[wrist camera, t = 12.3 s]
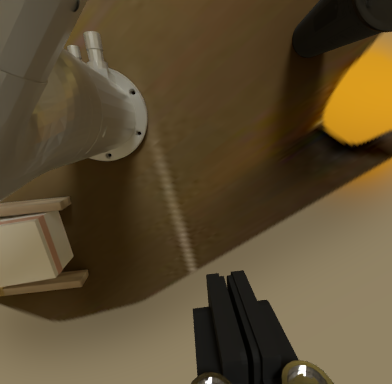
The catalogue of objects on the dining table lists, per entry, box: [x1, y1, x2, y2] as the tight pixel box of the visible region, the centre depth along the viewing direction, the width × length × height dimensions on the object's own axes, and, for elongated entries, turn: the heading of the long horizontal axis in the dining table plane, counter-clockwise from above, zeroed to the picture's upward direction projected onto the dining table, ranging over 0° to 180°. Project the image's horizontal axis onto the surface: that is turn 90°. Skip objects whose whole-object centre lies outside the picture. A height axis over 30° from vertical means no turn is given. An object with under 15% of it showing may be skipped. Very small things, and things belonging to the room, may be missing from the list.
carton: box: [0, 211, 74, 287], centre depth 35 cm, size 9×9×6 cm
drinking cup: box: [293, 0, 392, 57], centre depth 22 cm, size 8×8×20 cm
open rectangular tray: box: [0, 196, 89, 296], centre depth 36 cm, size 14×13×3 cm
